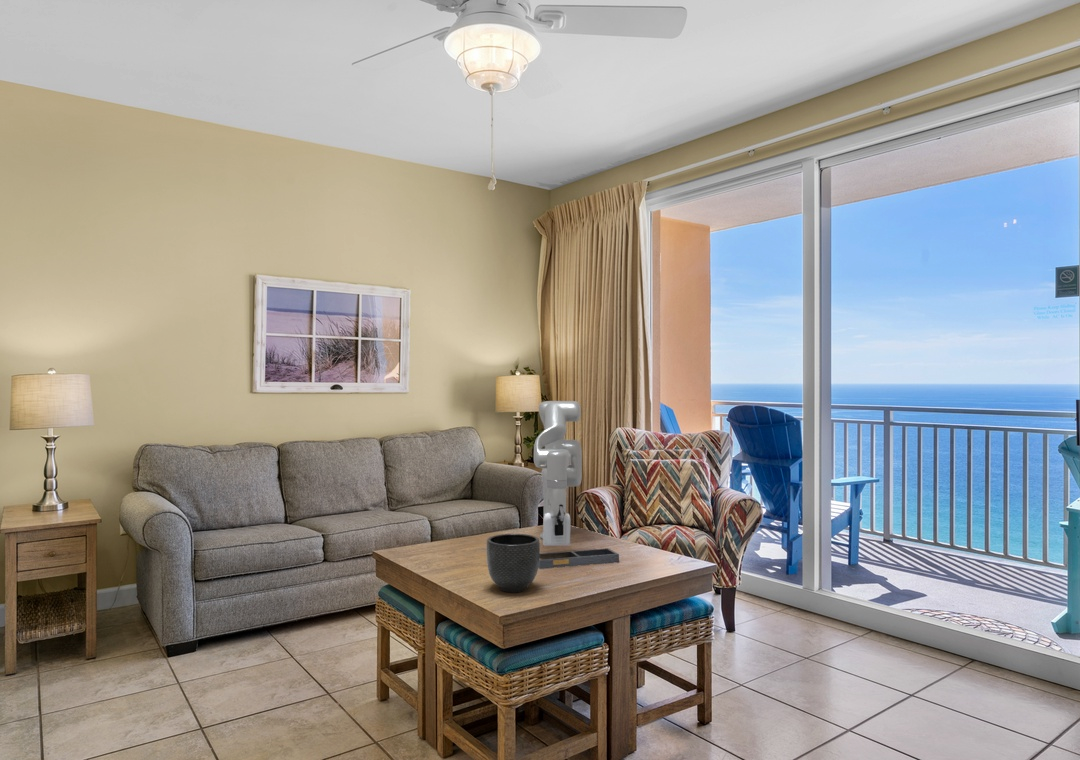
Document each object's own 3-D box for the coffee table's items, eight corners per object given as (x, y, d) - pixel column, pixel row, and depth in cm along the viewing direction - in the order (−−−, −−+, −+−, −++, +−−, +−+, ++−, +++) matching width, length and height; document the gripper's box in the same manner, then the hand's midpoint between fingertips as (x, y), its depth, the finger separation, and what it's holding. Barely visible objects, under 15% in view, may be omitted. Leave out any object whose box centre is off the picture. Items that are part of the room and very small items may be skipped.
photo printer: (569, 543, 252) (569, 510, 253) (571, 546, 248) (571, 512, 248) (542, 544, 251) (542, 511, 251) (543, 547, 247) (543, 513, 247)
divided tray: (531, 562, 252) (531, 553, 252) (608, 555, 261) (608, 548, 261) (540, 569, 242) (540, 560, 242) (619, 562, 252) (619, 554, 252)
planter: (515, 578, 231) (515, 531, 231) (550, 589, 218) (550, 539, 219) (475, 588, 219) (475, 538, 219) (510, 600, 207) (510, 548, 207)
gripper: (540, 482, 257) (539, 530, 257) (554, 488, 241) (554, 539, 240) (558, 481, 259) (558, 528, 259) (574, 487, 243) (574, 537, 243)
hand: (556, 533), depth 250 cm, fingers closed on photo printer, 4 cm apart
